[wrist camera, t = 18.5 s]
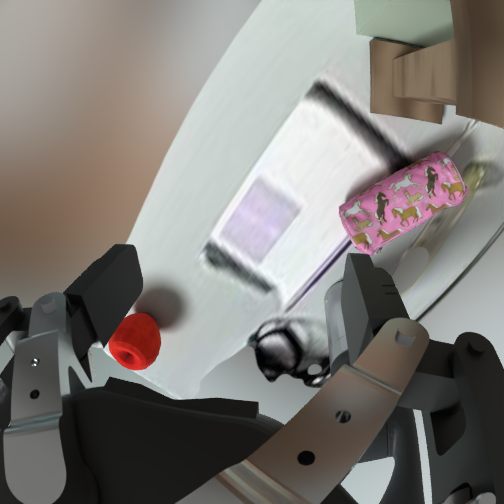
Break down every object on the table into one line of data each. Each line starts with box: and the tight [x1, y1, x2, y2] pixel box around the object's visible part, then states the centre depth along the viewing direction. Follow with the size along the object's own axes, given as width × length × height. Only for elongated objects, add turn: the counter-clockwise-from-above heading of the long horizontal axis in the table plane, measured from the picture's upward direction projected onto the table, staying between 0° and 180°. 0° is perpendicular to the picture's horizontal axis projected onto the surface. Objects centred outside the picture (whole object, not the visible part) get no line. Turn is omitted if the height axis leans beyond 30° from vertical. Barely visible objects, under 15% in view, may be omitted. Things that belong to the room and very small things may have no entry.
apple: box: [108, 313, 161, 370], centre depth 60 cm, size 12×12×13 cm
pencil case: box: [339, 151, 468, 255], centre depth 42 cm, size 21×9×9 cm, turn 127°
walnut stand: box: [370, 0, 504, 129], centre depth 22 cm, size 16×12×32 cm
